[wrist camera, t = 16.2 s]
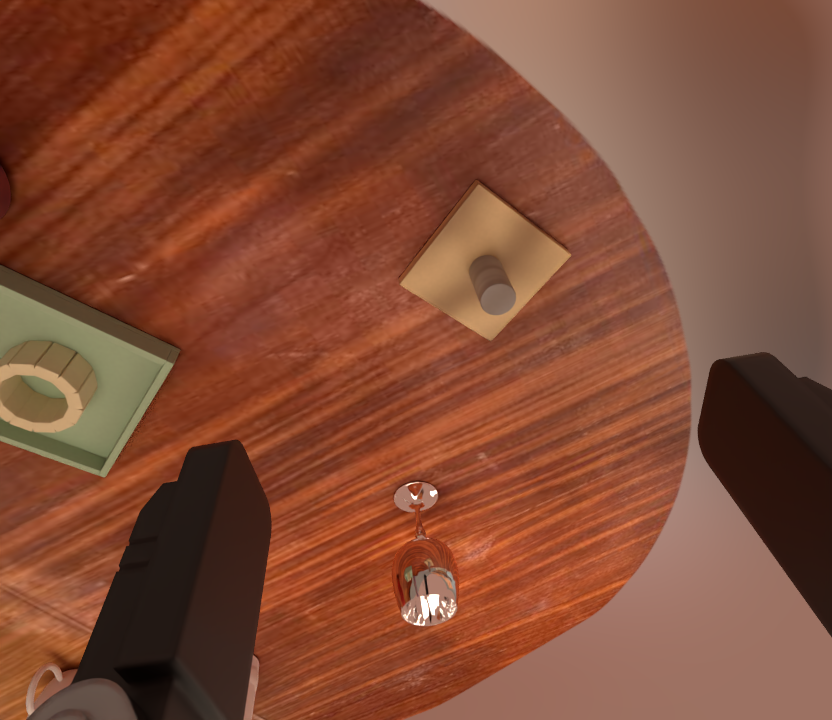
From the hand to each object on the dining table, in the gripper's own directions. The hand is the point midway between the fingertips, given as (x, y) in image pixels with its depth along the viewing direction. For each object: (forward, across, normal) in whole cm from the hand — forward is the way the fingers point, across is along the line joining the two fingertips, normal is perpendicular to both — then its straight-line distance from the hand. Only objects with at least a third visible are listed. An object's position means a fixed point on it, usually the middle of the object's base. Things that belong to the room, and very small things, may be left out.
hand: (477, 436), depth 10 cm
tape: (+30, +29, +15) cm, 44 cm away
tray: (+30, +29, +15) cm, 44 cm away
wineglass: (+30, +4, +36) cm, 47 cm away
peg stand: (+30, -5, +12) cm, 33 cm away
